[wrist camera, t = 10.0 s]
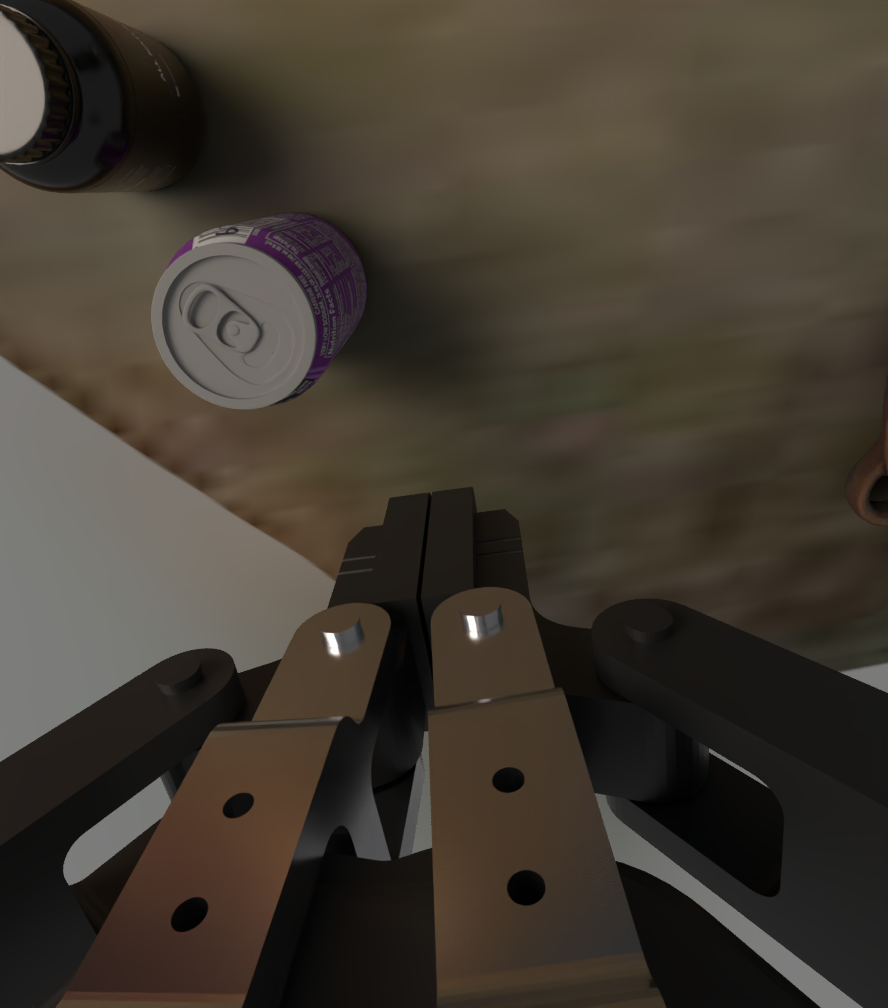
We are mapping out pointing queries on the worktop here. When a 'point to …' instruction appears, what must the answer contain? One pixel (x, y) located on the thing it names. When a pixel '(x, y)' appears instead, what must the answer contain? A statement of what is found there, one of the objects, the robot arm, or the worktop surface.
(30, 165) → the supplement bottle
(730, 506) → the worktop surface
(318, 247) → the beverage can
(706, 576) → the worktop surface
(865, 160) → the worktop surface
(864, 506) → the dish
